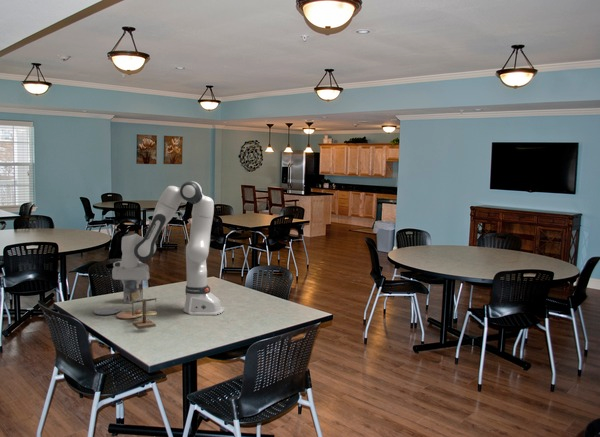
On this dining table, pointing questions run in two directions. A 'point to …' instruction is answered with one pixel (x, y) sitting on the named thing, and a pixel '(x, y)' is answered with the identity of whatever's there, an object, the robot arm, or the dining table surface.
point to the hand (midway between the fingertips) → (131, 287)
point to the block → (130, 286)
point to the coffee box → (134, 294)
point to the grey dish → (106, 310)
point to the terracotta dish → (126, 315)
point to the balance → (144, 322)
